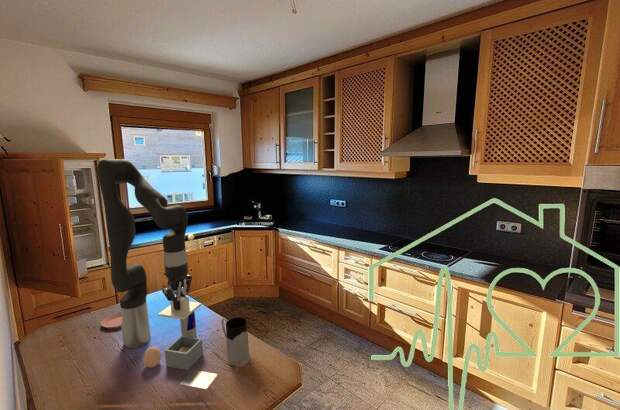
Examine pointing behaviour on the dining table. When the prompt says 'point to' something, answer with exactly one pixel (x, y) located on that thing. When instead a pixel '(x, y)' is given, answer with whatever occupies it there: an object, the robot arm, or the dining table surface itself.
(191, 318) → the beverage can
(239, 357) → the glass holder
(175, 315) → the lid
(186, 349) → the walnut block
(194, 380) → the slate trivet
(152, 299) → the dining table surface
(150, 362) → the egg
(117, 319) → the plate
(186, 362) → the tin box
